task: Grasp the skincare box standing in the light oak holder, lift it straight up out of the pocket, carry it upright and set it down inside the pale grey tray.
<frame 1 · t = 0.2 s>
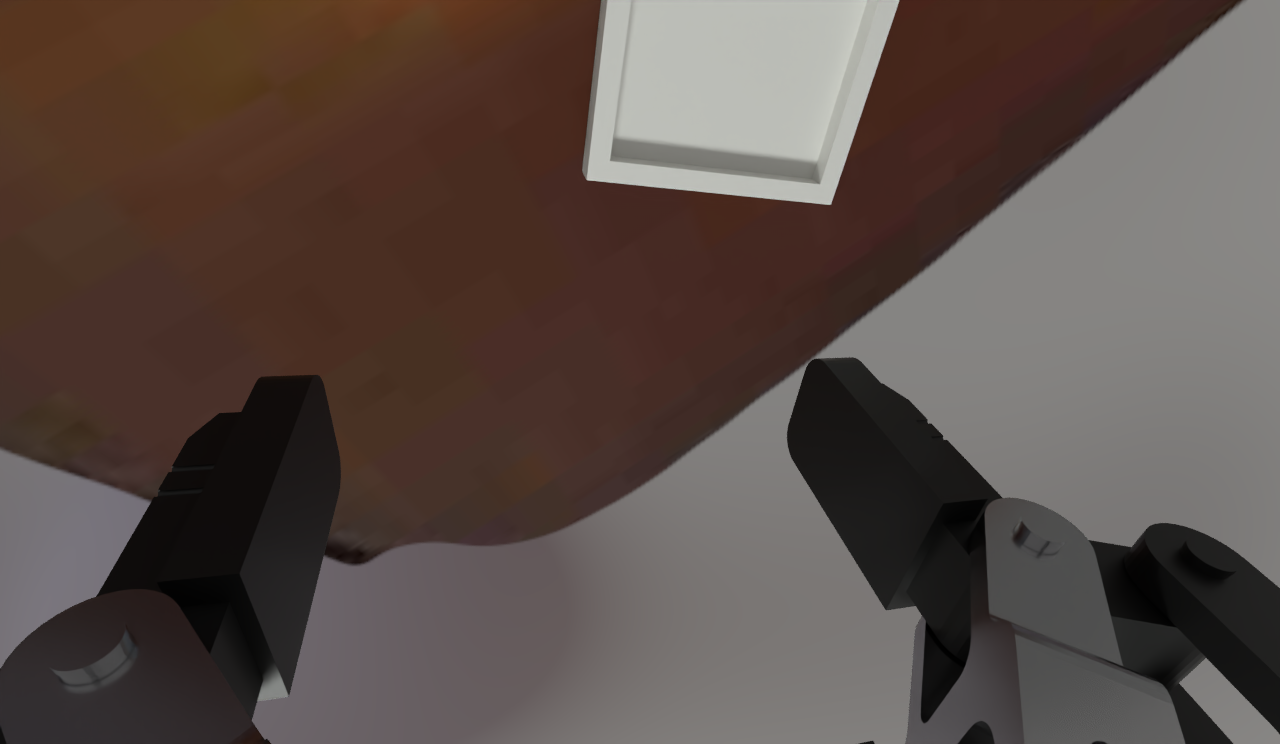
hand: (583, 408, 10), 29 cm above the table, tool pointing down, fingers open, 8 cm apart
grey tray: (733, 62, 35), on the table
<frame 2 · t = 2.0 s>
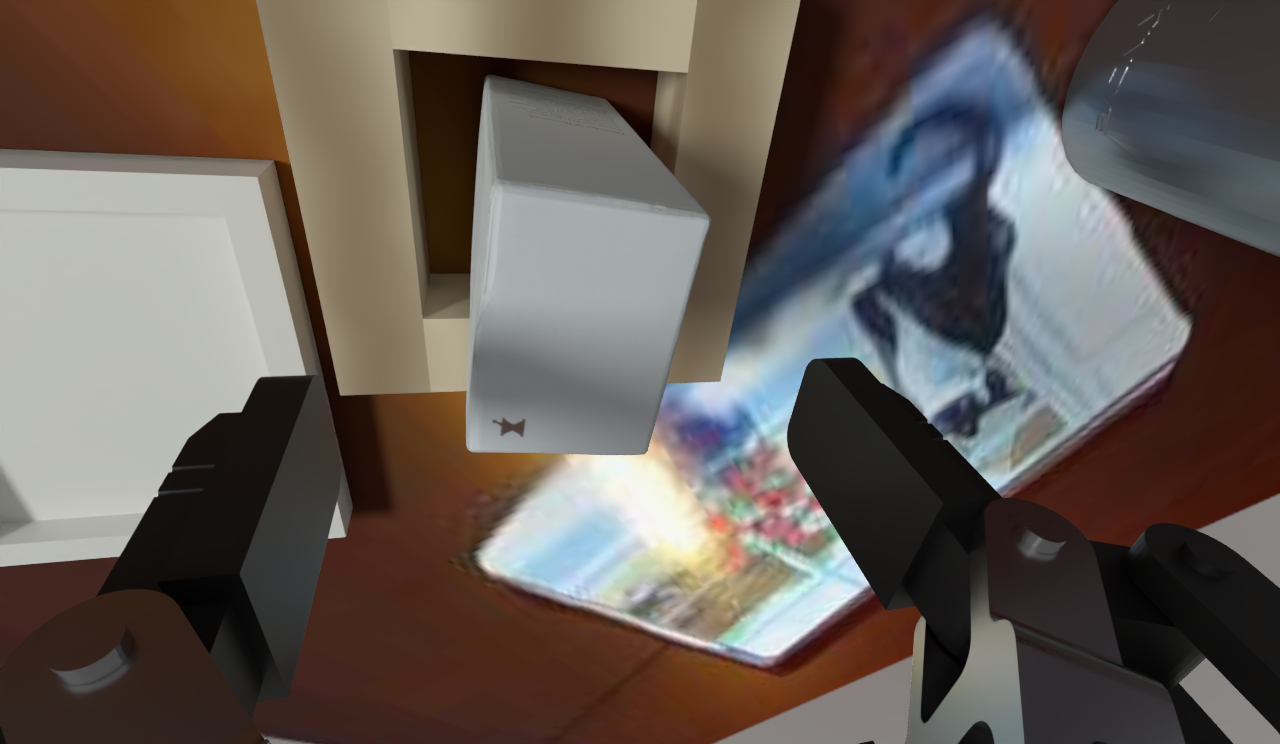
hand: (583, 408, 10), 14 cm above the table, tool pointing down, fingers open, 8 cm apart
skincare box: (537, 169, 22), resting in oak holder
grey tray: (115, 370, 23), on the table
oak holder: (538, 171, 22), on the table
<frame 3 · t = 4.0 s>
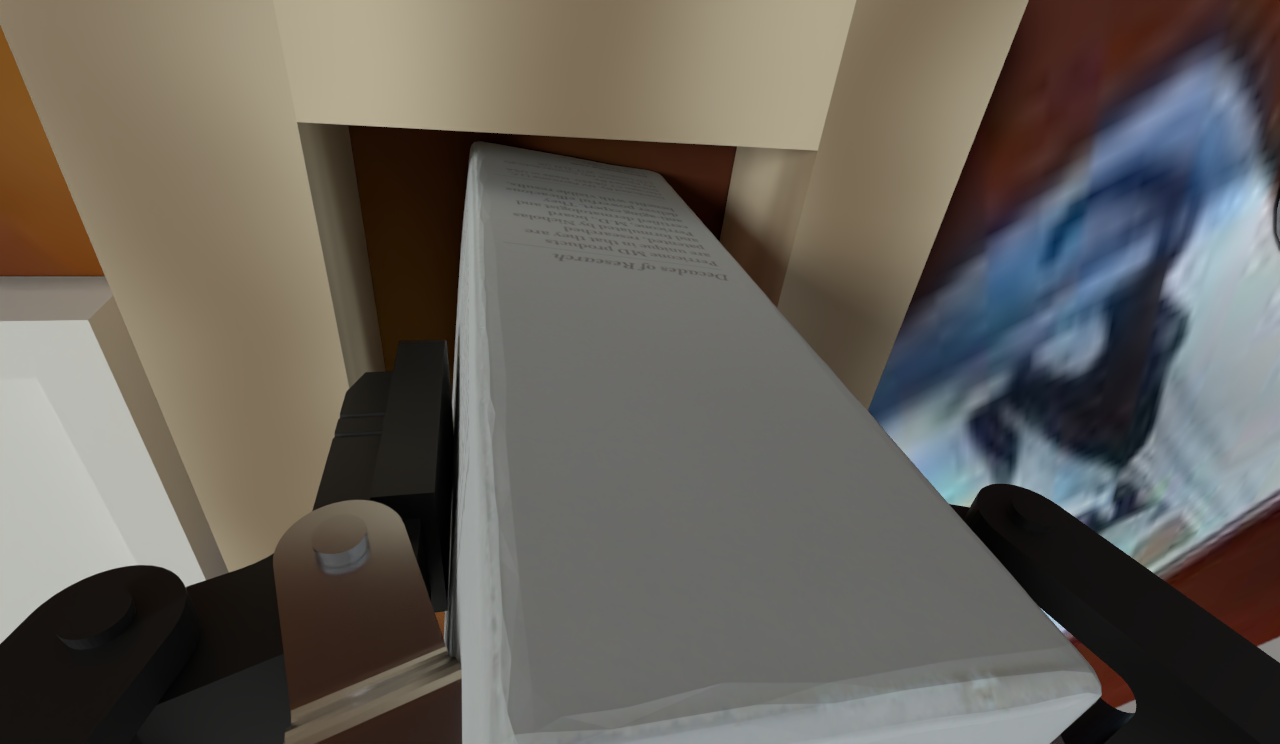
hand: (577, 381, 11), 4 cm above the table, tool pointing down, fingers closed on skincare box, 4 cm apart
skincare box: (552, 272, 15), resting in oak holder, touching gripper
oak holder: (553, 276, 14), on the table
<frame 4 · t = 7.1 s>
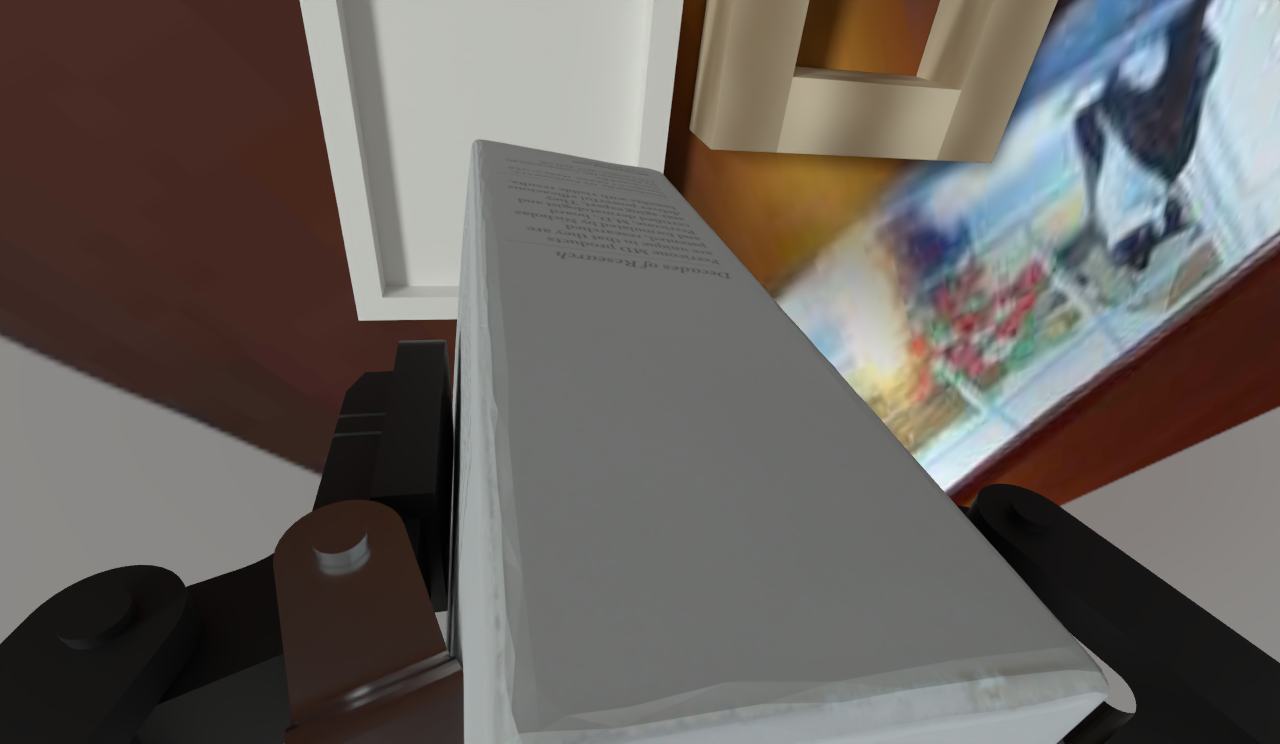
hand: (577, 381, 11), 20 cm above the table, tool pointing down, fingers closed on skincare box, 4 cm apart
skincare box: (553, 271, 15), point 15 cm above the table, touching gripper
grey tray: (504, 142, 27), on the table
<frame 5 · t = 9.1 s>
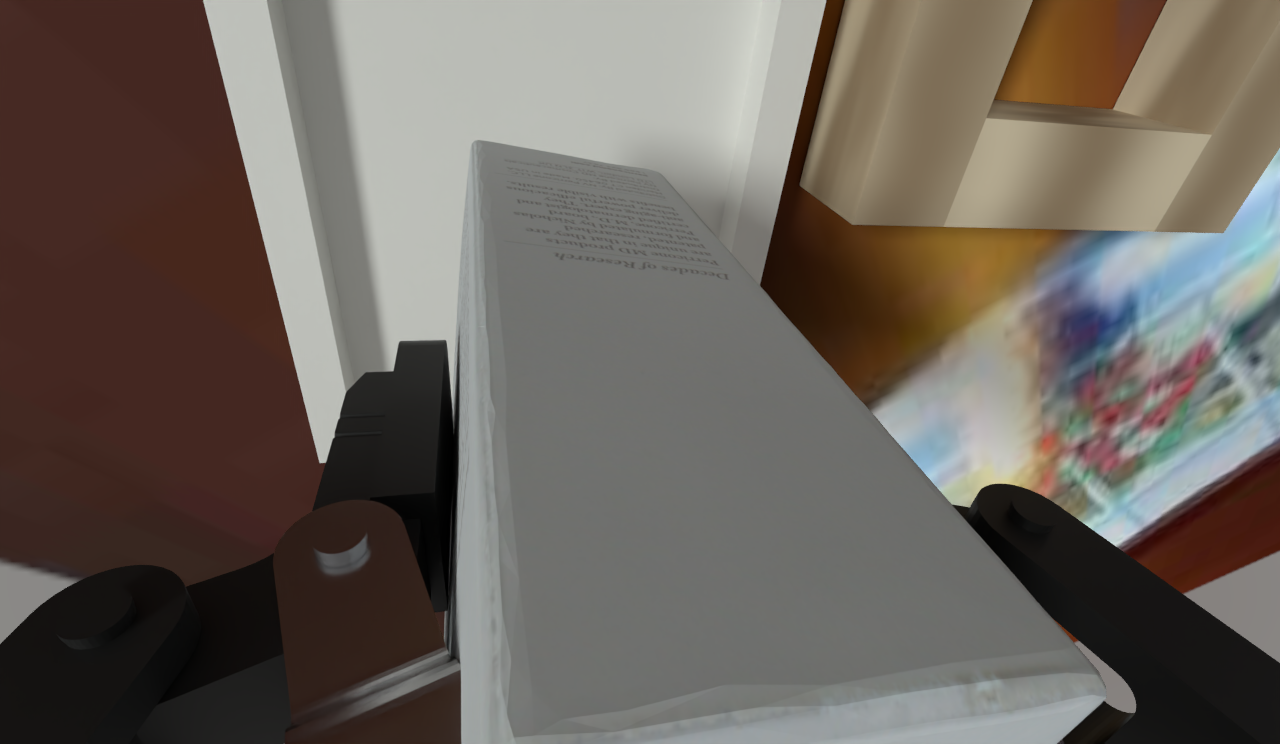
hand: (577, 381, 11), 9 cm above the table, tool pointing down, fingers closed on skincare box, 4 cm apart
skincare box: (552, 272, 15), point 5 cm above the table, touching gripper
grey tray: (535, 208, 18), on the table
when the fingers open (6 cm above the table, at t = 10.5 s): skincare box drops 1 cm, resting on grey tray.
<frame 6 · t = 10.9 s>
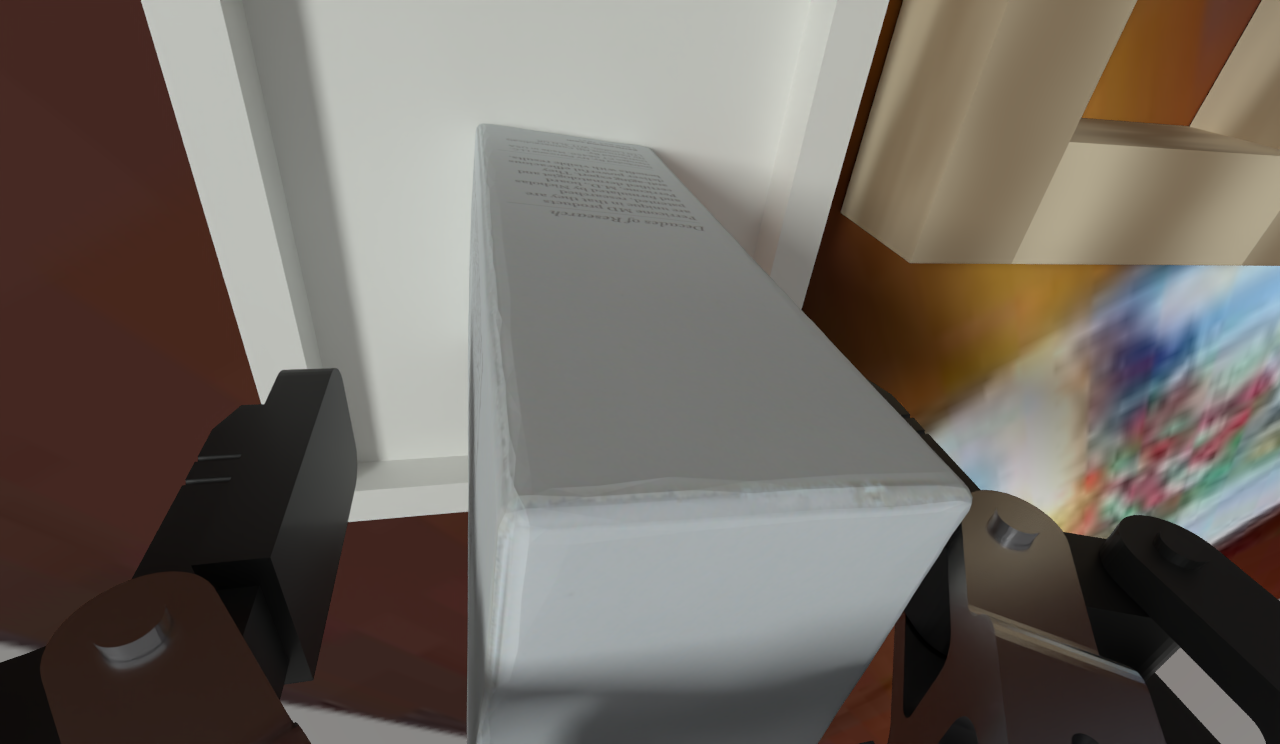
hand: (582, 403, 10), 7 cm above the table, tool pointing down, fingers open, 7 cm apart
skincare box: (554, 244, 16), resting on grey tray
grey tray: (543, 241, 16), on the table
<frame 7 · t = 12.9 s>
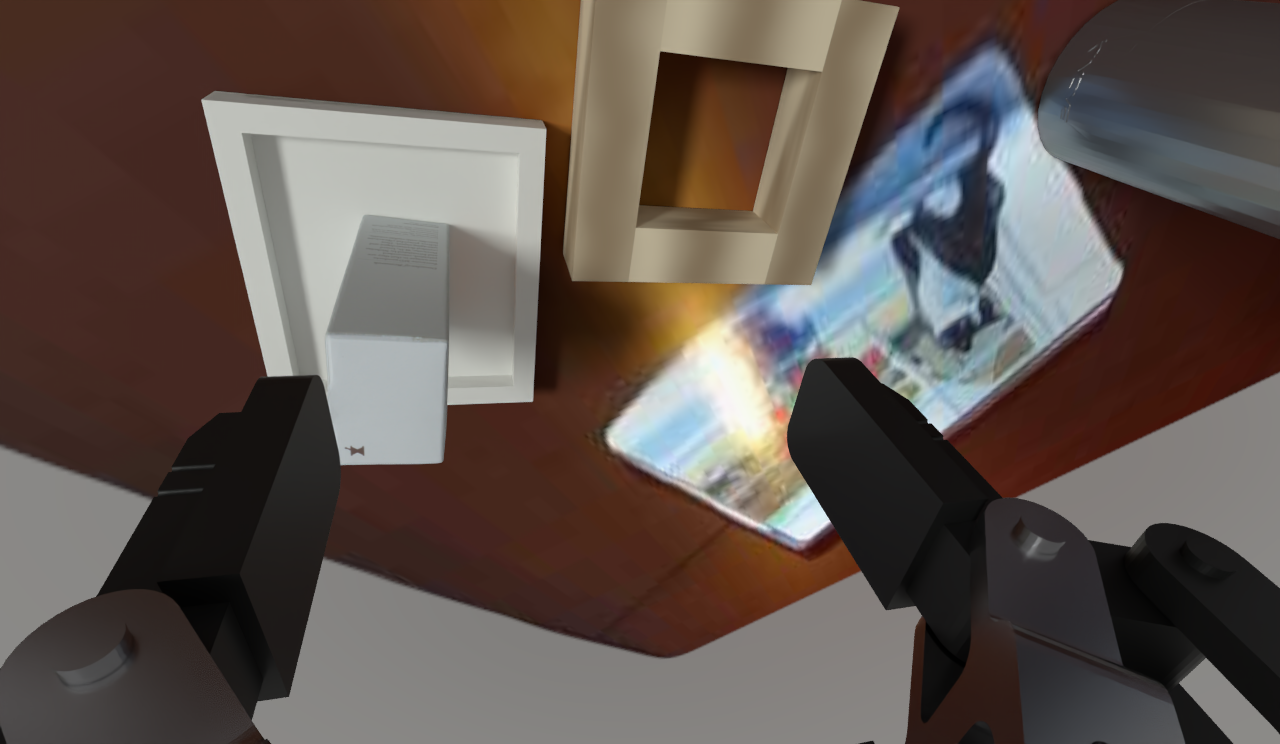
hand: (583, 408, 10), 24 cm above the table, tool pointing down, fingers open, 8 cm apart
skincare box: (407, 268, 32), resting on grey tray
grey tray: (403, 266, 32), on the table
oak holder: (702, 134, 32), on the table
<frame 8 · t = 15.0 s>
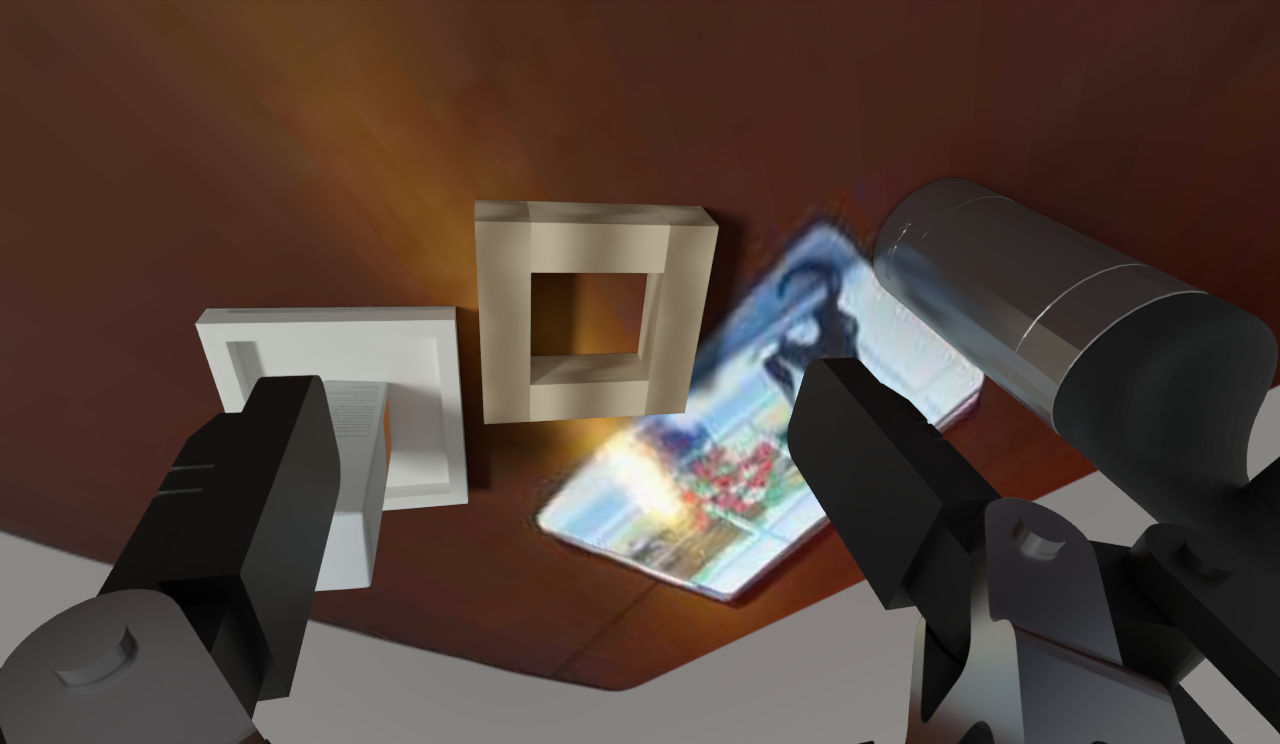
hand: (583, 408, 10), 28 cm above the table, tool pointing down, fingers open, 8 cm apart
skincare box: (359, 413, 41), resting on grey tray
grey tray: (356, 410, 42), on the table
oak holder: (586, 304, 41), on the table
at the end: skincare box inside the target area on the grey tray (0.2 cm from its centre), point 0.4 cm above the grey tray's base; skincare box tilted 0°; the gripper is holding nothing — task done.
